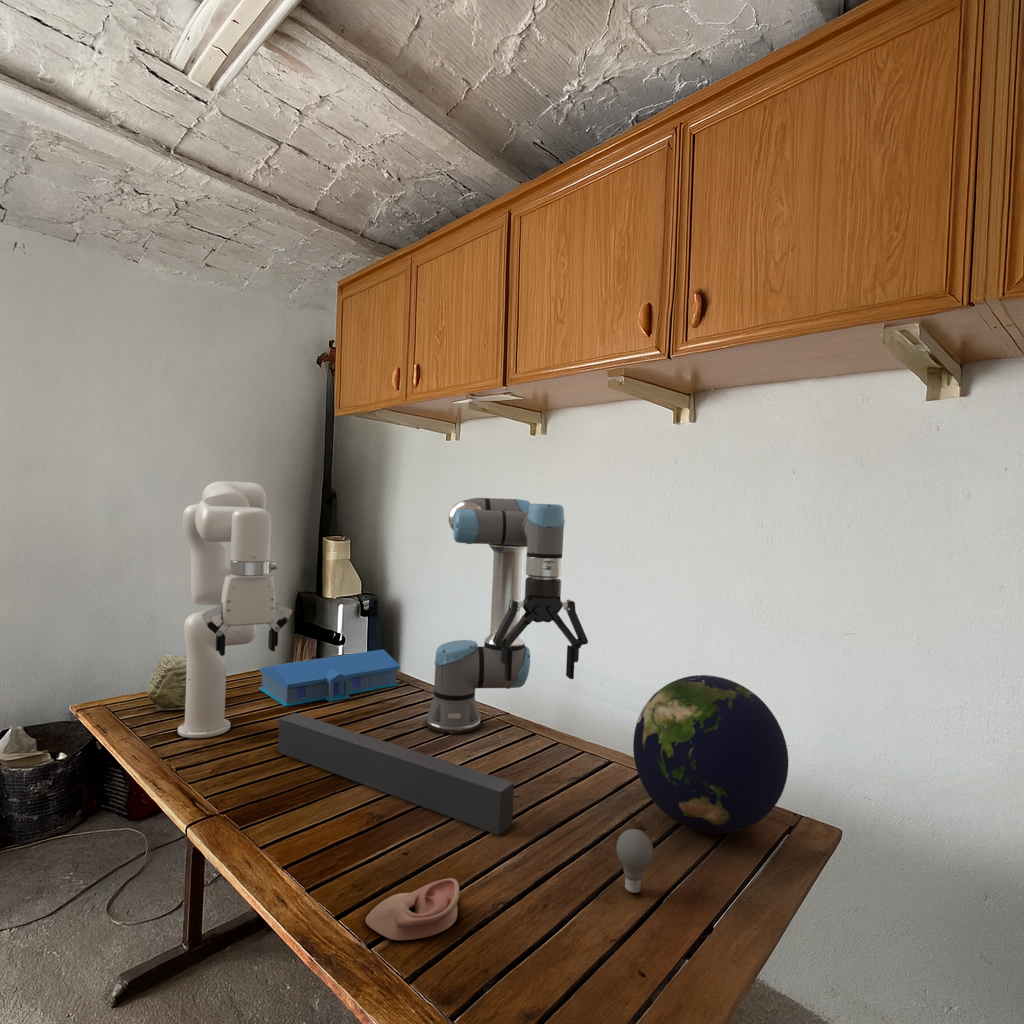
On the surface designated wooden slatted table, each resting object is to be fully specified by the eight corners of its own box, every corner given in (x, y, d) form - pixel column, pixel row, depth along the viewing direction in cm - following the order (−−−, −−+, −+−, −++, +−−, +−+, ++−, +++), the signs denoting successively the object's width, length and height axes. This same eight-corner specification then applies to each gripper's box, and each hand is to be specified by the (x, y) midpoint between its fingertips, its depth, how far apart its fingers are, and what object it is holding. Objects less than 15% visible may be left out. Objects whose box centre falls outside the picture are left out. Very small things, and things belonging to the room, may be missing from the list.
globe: (615, 841, 121) (622, 685, 120) (644, 780, 148) (650, 652, 148) (786, 884, 109) (795, 711, 109) (782, 808, 137) (789, 671, 136)
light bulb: (610, 879, 108) (613, 822, 108) (644, 879, 109) (647, 822, 109) (619, 902, 102) (622, 840, 102) (655, 901, 103) (658, 840, 103)
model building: (289, 709, 186) (291, 675, 185) (258, 688, 204) (259, 657, 204) (403, 687, 212) (405, 657, 212) (366, 670, 230) (368, 643, 230)
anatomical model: (357, 906, 92) (388, 863, 104) (356, 933, 92) (387, 887, 104) (444, 922, 90) (466, 876, 101) (443, 950, 90) (465, 901, 101)
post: (277, 752, 156) (278, 718, 155) (294, 746, 160) (295, 712, 160) (498, 835, 121) (500, 791, 121) (512, 824, 126) (514, 782, 125)
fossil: (144, 707, 182) (145, 655, 182) (212, 696, 194) (213, 647, 194) (151, 716, 175) (153, 662, 175) (221, 703, 188) (223, 653, 188)
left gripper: (288, 566, 138) (286, 644, 138) (201, 568, 129) (198, 651, 129) (297, 570, 132) (294, 652, 132) (206, 572, 122) (203, 660, 123)
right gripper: (489, 578, 126) (484, 685, 126) (606, 580, 132) (601, 681, 132) (481, 574, 133) (477, 674, 133) (592, 575, 139) (588, 671, 140)
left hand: (247, 652), depth 130 cm, fingers open, 9 cm apart
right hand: (539, 678), depth 133 cm, fingers open, 13 cm apart
